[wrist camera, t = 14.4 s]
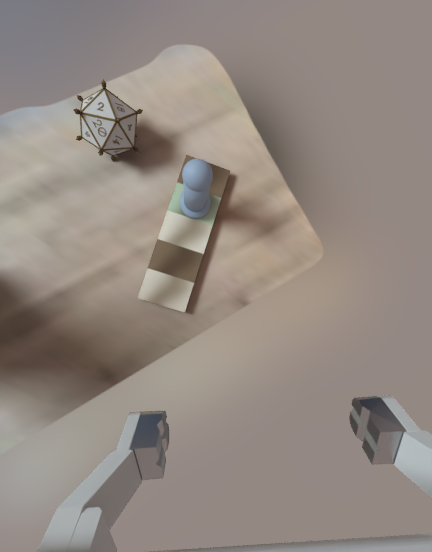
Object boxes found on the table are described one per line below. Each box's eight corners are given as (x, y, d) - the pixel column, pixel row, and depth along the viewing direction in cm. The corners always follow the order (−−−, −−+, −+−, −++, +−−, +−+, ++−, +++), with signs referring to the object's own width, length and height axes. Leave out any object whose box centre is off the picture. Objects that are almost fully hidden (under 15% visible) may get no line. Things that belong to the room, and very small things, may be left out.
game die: (135, 159, 41) (158, 157, 34) (80, 164, 37) (92, 164, 30) (122, 93, 37) (145, 75, 30) (58, 91, 33) (66, 69, 26)
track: (139, 297, 37) (137, 298, 35) (186, 159, 39) (186, 154, 37) (184, 311, 37) (184, 312, 36) (228, 174, 39) (230, 170, 38)
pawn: (176, 213, 37) (171, 180, 26) (185, 186, 37) (184, 141, 26) (204, 223, 37) (211, 194, 26) (213, 196, 38) (224, 156, 26)
